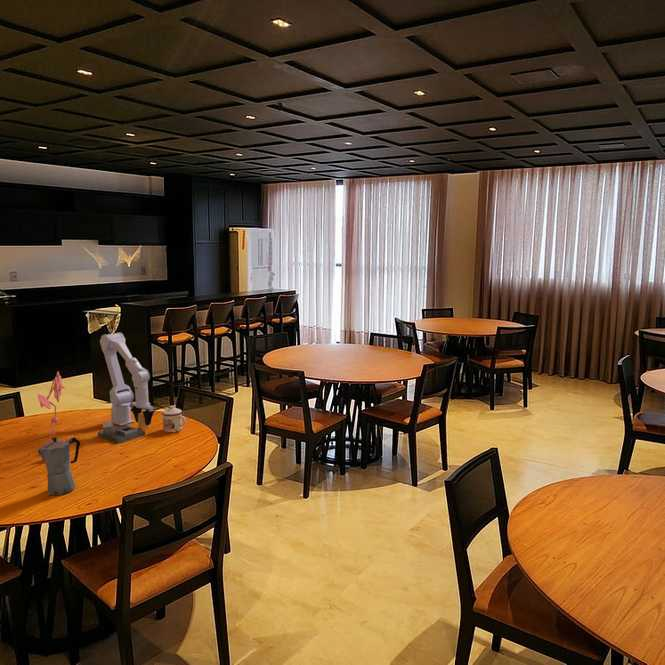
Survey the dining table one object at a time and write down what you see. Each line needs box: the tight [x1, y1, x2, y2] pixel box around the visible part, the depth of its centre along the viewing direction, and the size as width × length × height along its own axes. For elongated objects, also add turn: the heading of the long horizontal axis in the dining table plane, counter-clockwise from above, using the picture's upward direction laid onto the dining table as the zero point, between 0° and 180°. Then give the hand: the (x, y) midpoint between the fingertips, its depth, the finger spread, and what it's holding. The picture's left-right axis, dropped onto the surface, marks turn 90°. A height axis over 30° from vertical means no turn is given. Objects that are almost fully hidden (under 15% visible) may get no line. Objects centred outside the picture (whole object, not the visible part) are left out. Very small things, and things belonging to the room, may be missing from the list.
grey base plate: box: [97, 420, 146, 444], centre depth 267 cm, size 16×14×6 cm
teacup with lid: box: [161, 405, 187, 433], centre depth 275 cm, size 12×9×12 cm
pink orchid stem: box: [37, 371, 82, 465], centre depth 242 cm, size 15×26×35 cm, turn 16°
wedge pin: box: [137, 412, 149, 430], centre depth 278 cm, size 3×3×7 cm
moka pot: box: [36, 436, 81, 496], centre depth 208 cm, size 10×15×20 cm, turn 146°
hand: (143, 423), depth 279 cm, fingers open, 7 cm apart
